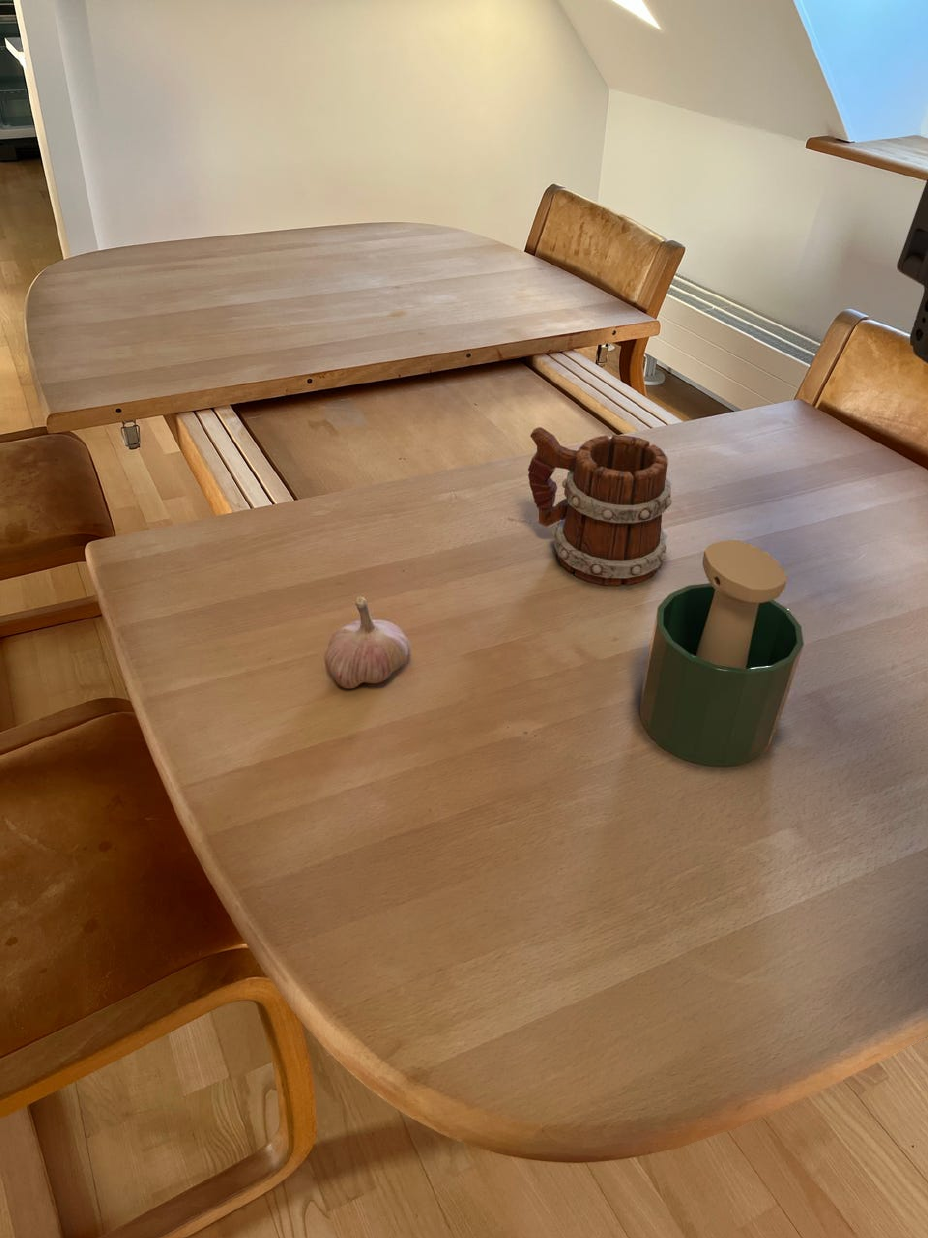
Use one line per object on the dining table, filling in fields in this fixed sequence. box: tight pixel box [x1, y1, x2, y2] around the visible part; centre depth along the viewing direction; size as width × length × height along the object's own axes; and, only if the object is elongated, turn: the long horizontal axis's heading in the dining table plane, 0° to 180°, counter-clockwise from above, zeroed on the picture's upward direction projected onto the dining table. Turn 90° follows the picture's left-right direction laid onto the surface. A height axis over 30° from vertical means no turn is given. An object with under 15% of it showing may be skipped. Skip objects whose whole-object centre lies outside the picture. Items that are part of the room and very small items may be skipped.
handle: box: [696, 539, 788, 669], centre depth 73 cm, size 5×6×15 cm
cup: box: [639, 582, 805, 768], centre depth 75 cm, size 11×11×10 cm
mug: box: [527, 426, 673, 587], centre depth 93 cm, size 12×14×15 cm
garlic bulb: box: [324, 595, 412, 689], centre depth 80 cm, size 8×7×8 cm
